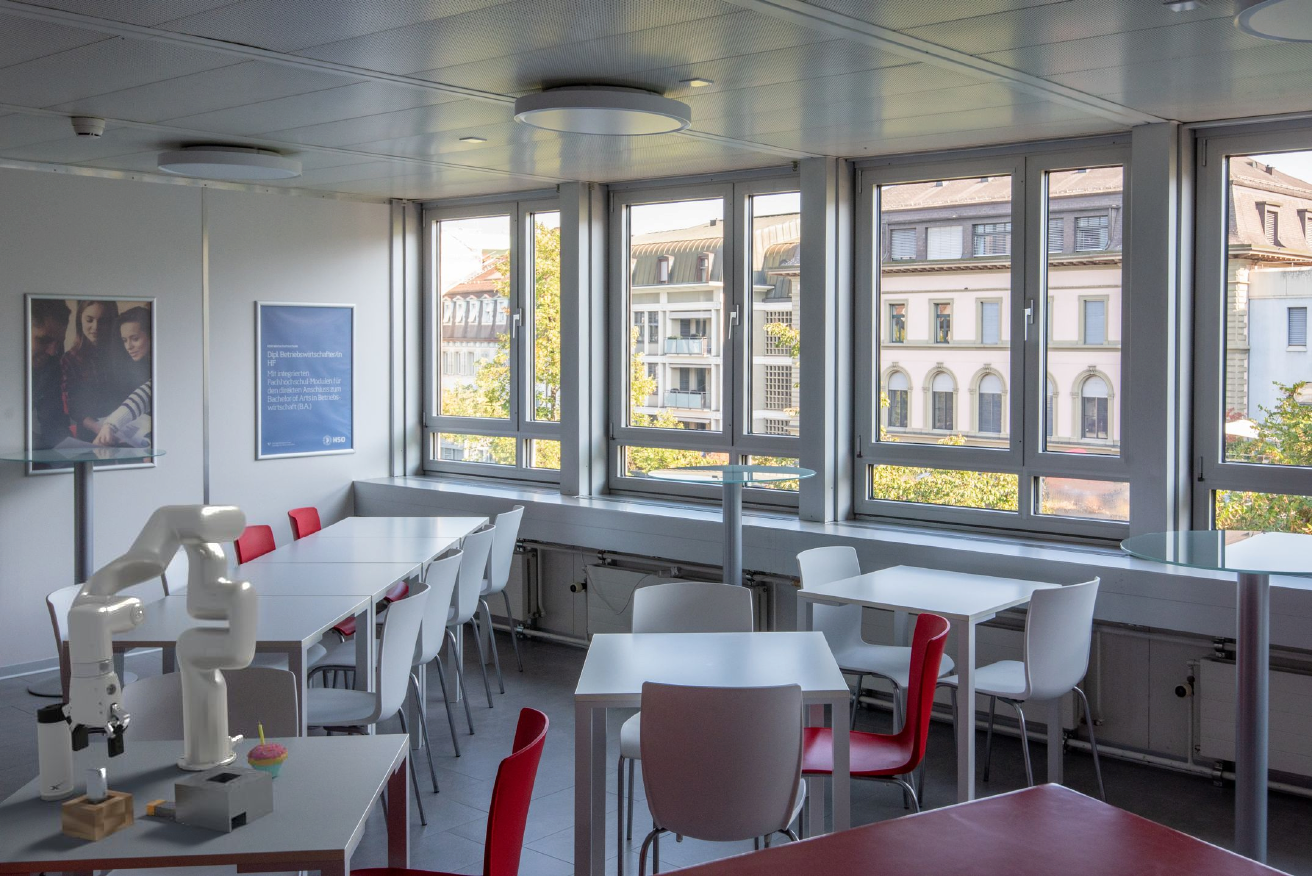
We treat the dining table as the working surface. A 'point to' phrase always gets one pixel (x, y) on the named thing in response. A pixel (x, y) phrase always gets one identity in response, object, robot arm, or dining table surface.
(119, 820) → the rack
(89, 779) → the peg
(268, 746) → the cupcake
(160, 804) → the bar
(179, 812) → the socket block
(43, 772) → the travel mug
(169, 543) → the robot arm
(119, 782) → the dining table surface
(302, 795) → the dining table surface
